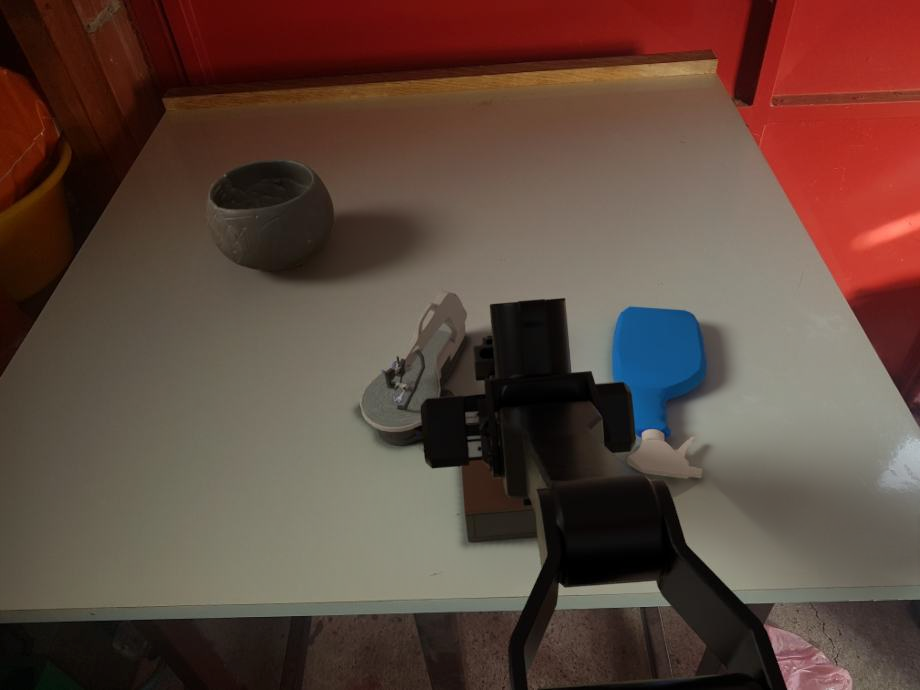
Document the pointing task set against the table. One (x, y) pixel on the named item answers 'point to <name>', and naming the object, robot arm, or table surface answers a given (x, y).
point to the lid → (486, 491)
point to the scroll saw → (417, 373)
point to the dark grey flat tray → (501, 525)
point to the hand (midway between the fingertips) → (520, 417)
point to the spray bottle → (658, 380)
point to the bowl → (269, 214)
